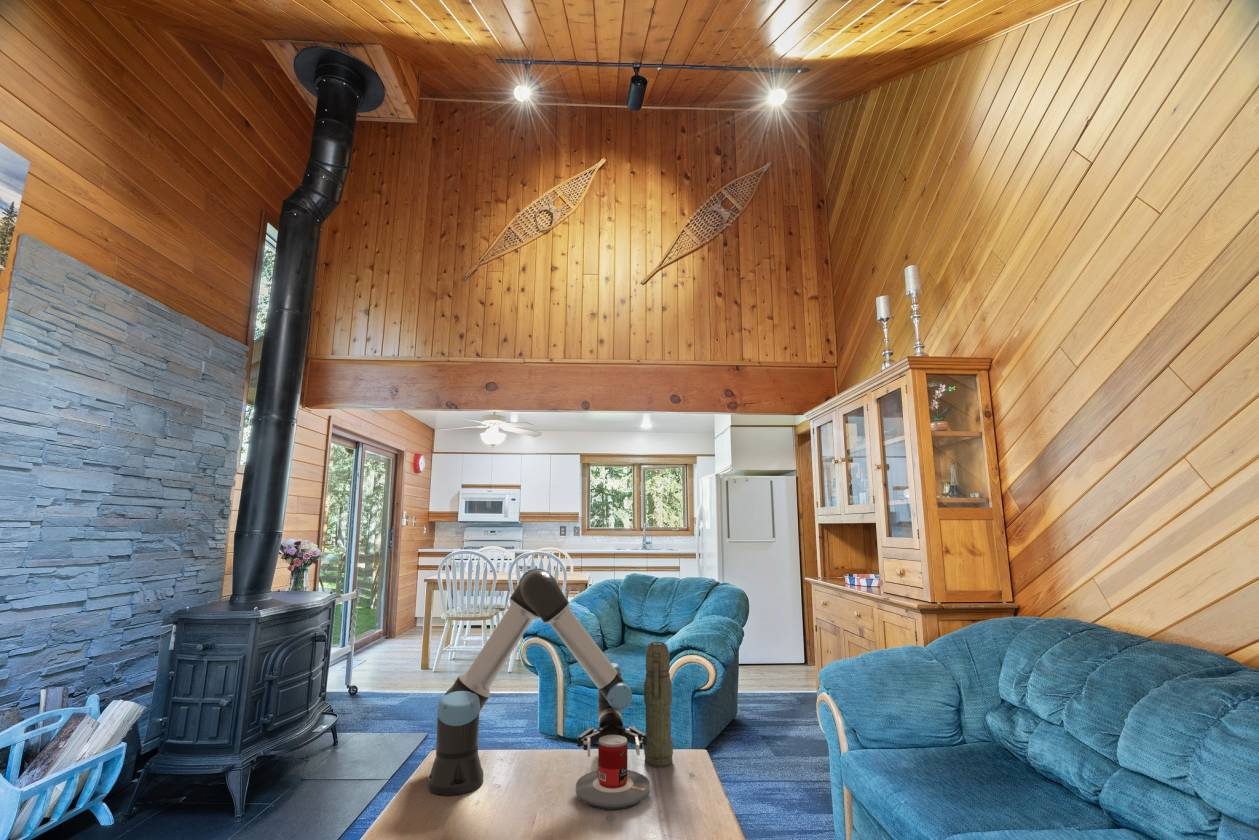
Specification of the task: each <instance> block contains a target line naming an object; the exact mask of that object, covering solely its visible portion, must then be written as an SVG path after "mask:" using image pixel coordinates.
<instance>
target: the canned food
mask: <svg viewBox="0 0 1259 840" xmlns="http://www.w3.org/2000/svg"><path fill="white" fill-rule="evenodd" d="M597 743H598V753H597V756H598V757H597V759H598V761H597V762H598V763H597V764H598V765H597V766H598V767H597V768H598V769H597V771H598V780H599V784H600V785H601V786H603V787H605V788H620V787H623V786H624V785H626V783H627V770H628V742H627V738H625V737H623V736H620V735H606V736H603V737H601V738H599V742H597Z"/></svg>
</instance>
